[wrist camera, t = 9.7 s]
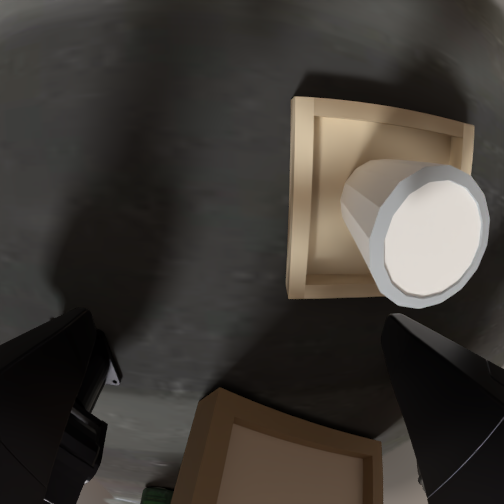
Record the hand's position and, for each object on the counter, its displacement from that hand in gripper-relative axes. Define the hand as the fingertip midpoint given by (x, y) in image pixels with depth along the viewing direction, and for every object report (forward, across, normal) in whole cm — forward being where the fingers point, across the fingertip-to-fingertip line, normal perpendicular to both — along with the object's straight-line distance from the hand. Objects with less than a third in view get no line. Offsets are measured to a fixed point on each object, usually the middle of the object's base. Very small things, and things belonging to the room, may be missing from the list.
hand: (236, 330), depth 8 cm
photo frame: (+12, -3, +26) cm, 29 cm away
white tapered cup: (+11, -9, -2) cm, 14 cm away
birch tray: (+11, -9, -2) cm, 14 cm away
